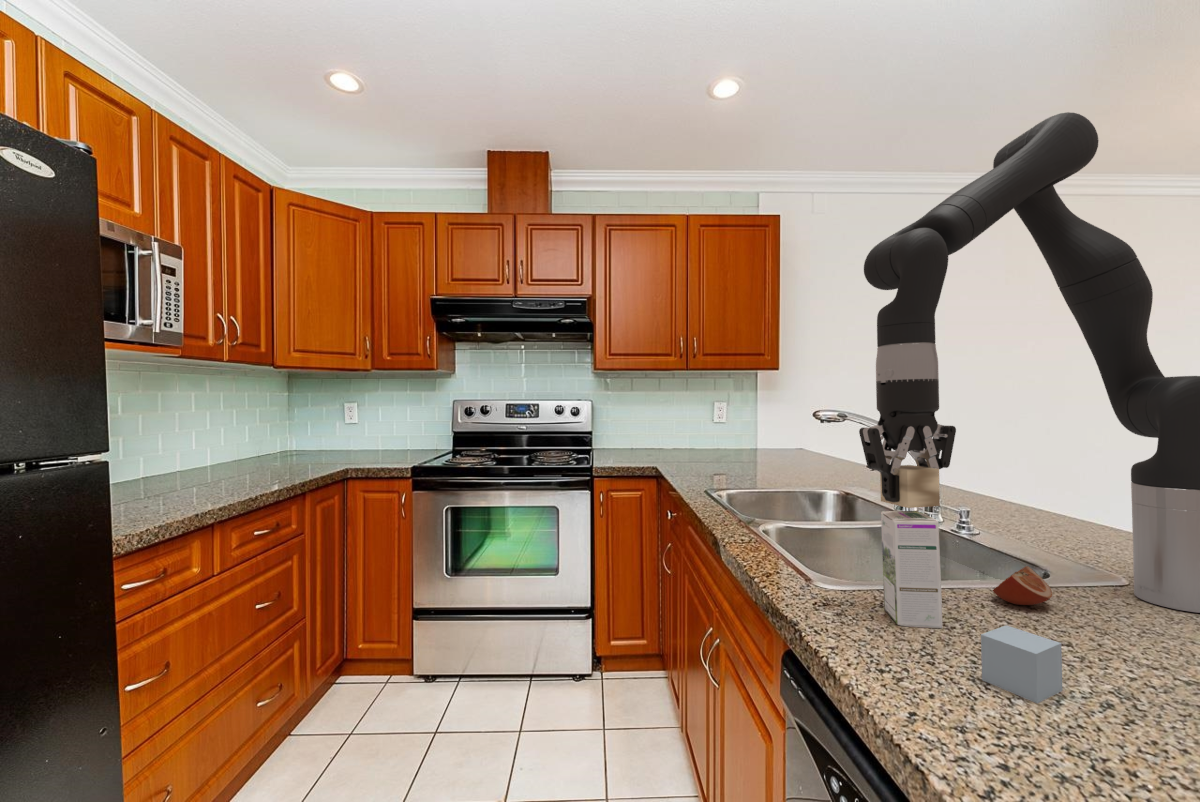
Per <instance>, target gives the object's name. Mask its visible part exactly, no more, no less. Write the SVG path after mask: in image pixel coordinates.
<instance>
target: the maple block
mask: <svg viewBox="0 0 1200 802" xmlns="http://www.w3.org/2000/svg"><path fill="white" fill-rule="evenodd" d="M879 473H880V472H879ZM897 475H899V486H900V501H899V502H890V501H886V500H885V498H884V497H883V495H882V476H881V473H880V474H879V479H880V480H879V481H880V482H879V483H880V502H882V503H886V504H890V505H895V506H899V507H904V508H906V509H912V508H925V507H926V508H927V507H928V508H930V507H940V506H941V495H940V494H941V493H940V492H941V491H940V488H941V487H940V469H936V468H928V467H921V466H917V465H912V464H905V465H904V464H901V466H900V469H899V472H898V474H897Z"/></svg>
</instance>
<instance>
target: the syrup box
mask: <svg viewBox="0 0 1200 802" xmlns="http://www.w3.org/2000/svg"><path fill="white" fill-rule="evenodd" d="M880 518H881V521H880V523H881V548H882V551H881V552H882V582H883V584H882V586H883V610H884V611H885V612H886V613H887V614H888V615H889V617H890V618H891V619H892V620H893V622H895V624H896V625H898V626H901V627H912V628H924V629H925V628H926V629H927V628H928V629H943V603H942V601H943V600H942V577H941V576H942V575H941V574H942V573H941V554H940V553H941V552H940V551H941V550H940V548H941V547H940V533H939V532H940V528H939V520H937V519H936V518H933V517H931V516H929V515H928V514H926V513H924V512H922V511H921V512H920V511H912V510H911V511H910V510H890V511H889V510H888V511H881V513H880Z"/></svg>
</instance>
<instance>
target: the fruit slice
mask: <svg viewBox="0 0 1200 802" xmlns="http://www.w3.org/2000/svg"><path fill="white" fill-rule="evenodd" d="M992 592H993V593H994V594H995V595H996V596H997V597H999V598H1000V599H1001V600H1003V601H1004V602H1007V603H1010V604H1013V605H1018V606H1033V605H1038V604H1039V605H1040V604H1041V603H1045V602H1046V601H1048V600H1049V599H1051V598H1052V597H1053V591H1052V588H1051V587H1050V585H1049V584H1048V583H1047V582H1046V581H1045V580H1044V579H1043V578H1042V576H1040V575H1039V574H1038V573H1036V572H1035V570H1033V568H1031V567H1030V566H1029V565H1027V566H1026V565H1025V566H1024V567H1022V568H1020V569H1019V570H1018V571H1015V572H1014V573H1013V574H1011V575H1009V577H1007V578H1006V579H1004V580H1003V581H1002V582H1001V583H999V584H998V586H996V587H995V588H993V590H992Z"/></svg>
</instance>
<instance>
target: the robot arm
mask: <svg viewBox="0 0 1200 802" xmlns="http://www.w3.org/2000/svg"><path fill="white" fill-rule="evenodd" d="M1098 148H1099V134H1098V132H1097V129H1096V127H1095V125H1094V124H1093V123H1092V122H1091V120H1089V118H1087V117H1086V116H1085V115H1082V114H1080V113H1077V112H1076V113H1075V112H1069V111H1068V112H1061V113H1057V114H1055V115H1052V116H1049V117H1047V118H1045V119H1043V120H1042V121H1039V122H1038V123H1037V124H1035V125H1034V126H1033V127H1031V128H1029V129H1028V130H1027V131H1025V132H1023V133H1022V134H1021V135H1019V136H1017V137H1016V138H1015V139H1013V140H1011V141H1010V142H1009V143H1007V144H1005V145H1004V146H1003V147H1001V148H1000V149H999V150H998V151H997V152H996V154H995V156H994V157H993V158H994V159H993V162H992V163H993V164H992V165H993V166H992V169H990V170H989V171H988V172H986V173H984V174H982V175H981V176H980V177H977V179H975V180H973V181H971V182H970V183H968V184H967V185H965V186H964V187H961V188H960V189H958V190H957V191H955V192H954V193H952V194H951V195H950V196H948V197H947V198H946V199H944V200H943V201H942V202H940V203H939V204H937V205H936V206H934V207H933V208H931V210H929V211H928V212H927V213H925V215H923V216H921V217H920V218H919V219H918V220H916V221H914V222H912V223H910V224H909V225H907V226H906V227H905V226H904V228H901V229H900V230H898V231H897V232H895V233H893V234H891V235H889V236H888V237H885V239H882V241H880V242H879V243H878V244H876V245H875V246H873V247H872V249H871V250H870V251H869V252H868V254H867V255H866V258H865V260H864V263H863V275H864V278H865V280H866V281H867V283H869V284H870V285H871V286H872V287H873V288H875V289H878V290H881V291H892V290H893V291H894V290H897V291H896V294H895V297H894V298H893V299H892V301H890V302H889V303H888V304H886V305H884V306H883V307H881V309H880V310H879V311H878V312H877V316H876V341H877V345H876V346H877V348H876V349H877V350H876V351H877V352H876V358H875V389H876V390H875V391H876V392H875V393H876V394H875V395H876V410H877V412H879V414H880V415H879V420H878V422H877V424H876V425H874V426H870V427H860V428H859V430H858V432H859V433H858V434H859V438H860V440H861V441H860V442H861V445H862V448H863V454H864V459H865V462H866V466H867V468H868V469H870V470H875V471H877V472H878V473H881V476H882V495H883V497H884V498H885V500H886V501H890V502H899V501H900V486H899V475H897V474H898V472H899V469H900V466H901V465H902V462H903V461H904V460H905V459H906V457H907V455H908V452H909V453H910V455H911V457H913V459H914V461H915V464H916V466H921V467H928V468H936V469H939V470H941V469H944V468H945V469H948V468H949V467H950V465H951V459H952V455H953V449H954V443H955V438H956V434H957V429H956V426H955V425H945V424H944V425H943V424H941V423H940V424H939V423H938V421H937V419H936V416H935V415H936V414H935V413H936V412H937V411H939V410H940V383H939V382H940V380H939V379H940V378H939V358H938V352H937V347H936V346H937V345H936V317H935V316H936V311H937V308H938V305H939V301H940V298H941V293H942V290H943V286H944V284H945V279H946V275H947V271H948V267H949V256H951V255H953V254H954V253H956V252H958V251H960V250H962V249H963V248H964V247H965V246H967V245H968V244H970V243H971V242H972V241H974V240H975V239H976V238H977V237H979V236H980V235H982V234H983V233H984V232H985V231H987V230H988V229H989V228H991V227H992V226H993V225H994V224H995V223H997V222H998V221H999V220H1001V219H1002V218H1003V217H1004V216H1005V215H1007V214H1009V212H1011V211H1012V210H1014V211H1015V213H1016V214H1017V216H1018V217H1019V218H1020V220H1021V221H1022V223H1023V224H1024V226H1025V227H1026V229H1027V230H1028V232H1029V233H1030V235H1031V236H1032V238H1033V240H1034V242H1035V244H1036V245H1037V247H1038V249H1039V251H1040V252H1041V254H1042V256H1043V259H1044V261H1045V262H1046V265H1048V267H1049V270H1050V272H1051V274H1052V276H1053V278H1054V281H1055V282H1056V285H1057V287H1058V289H1059V291H1060V293H1061V295H1062V297H1063V299H1064V301H1065V303H1066V305H1067V307H1068V309H1069V311H1070V312H1071V314H1072V315H1073V317H1074V319H1075V321H1076V323H1077V325H1078V326H1079V329H1080V332H1081V333H1082V335H1083V337H1084V339H1085V342H1086V344H1087V346H1088V349H1090V352H1091V354H1092V356H1093V358H1094V361H1095V364H1096V365H1097V368H1098V370H1099V374H1100V376H1101V380H1102V382H1103V384H1104V388H1105V390H1106V394H1107V397H1108V399H1109V402H1110V405H1111V408H1112V410H1113V412H1114V414H1115V416H1116V418H1117V420H1118V421H1119V423H1120V424H1121V425H1122V426H1123V427H1124V428H1125V429H1126V430H1128V431H1129V432H1131V433H1132V434H1135V435H1137V436H1140V437H1145V438H1156V439H1157V447H1156V452H1155V453H1154V454H1153V455H1152V456H1151V457H1150V458H1147V459H1144V460H1142V461H1138V462H1135V463H1134V464H1133V465H1132V466H1131V468H1130V481H1131V482H1130V488H1131V516H1132V517H1131V518H1132V519H1131V520H1132V521H1131V524H1132V562H1133V566H1132V567H1133V569H1132V570H1133V571H1132V572H1133V594H1134V596H1135V597H1136V598H1138V599H1140V600H1142V601H1145V602H1147V603H1151V604H1152V605H1153V604H1154V605H1156V606H1157V605H1158V606H1161V607H1165V608H1169V609H1173V610H1178V611H1184V612H1191V613H1198V614H1200V375H1182V376H1177V375H1176V376H1165V375H1164V374H1163V372H1162V371H1161V369H1160V368H1159V366H1158V364H1157V362H1156V361H1155V357H1154V356H1153V355H1152V352H1151V349H1150V347H1149V342H1148V329H1149V322H1150V317H1151V313H1152V312H1151V311H1152V306H1153V299H1154V298H1153V293H1154V292H1153V286H1152V284H1151V281H1150V279H1149V276H1148V274H1147V273H1146V271H1145V268H1144V267H1143V265H1142V263H1141V262H1140V259H1139V258H1138V255H1137V254H1136V251H1135V250H1134V249H1133V248H1132V246H1131V245H1130V244H1128V243H1127V242H1126V241H1124V240H1123V239H1121V238H1120V237H1118V236H1116V235H1114V234H1113V233H1111V232H1108V231H1106V230H1104V229H1102V228H1100V227H1098V226H1096V225H1094V224H1092V223H1090V222H1088V221H1086V220H1084V219H1082V218H1081V217H1079V216H1078V215H1076V214H1075V213H1073V212H1072V211H1071V210H1070V209H1069V208H1068V207H1067V206H1066V203H1065V202H1064V201H1063V200H1062V198H1061V197H1060V196H1059V194H1058V192H1057V190H1056V188H1055V187H1054V186H1055V185H1056V184H1059V183H1060V182H1062V181H1064V180H1066V179H1068V178H1070V177H1072V176H1073V175H1075V174H1077V173H1078V172H1079V171H1081V170H1082V169H1084V168H1085V167H1086V166H1087V165H1088V164H1089V163H1091V162H1092V159H1094V157H1095V155H1096V154H1097V151H1098ZM882 440H883V441H882Z"/></svg>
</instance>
